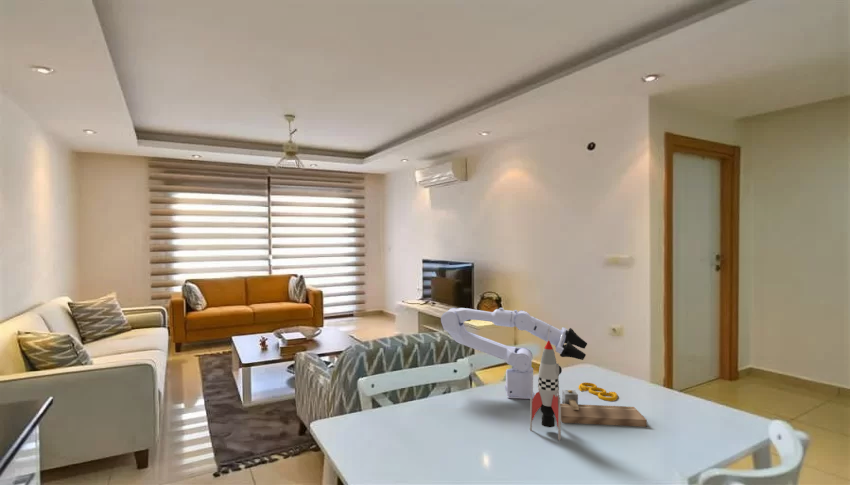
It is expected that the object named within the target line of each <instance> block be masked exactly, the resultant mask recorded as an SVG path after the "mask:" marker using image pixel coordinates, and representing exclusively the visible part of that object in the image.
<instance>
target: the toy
mask: <svg viewBox="0 0 850 485" xmlns="http://www.w3.org/2000/svg"><path fill="white" fill-rule="evenodd" d="M548 327H550V326H548ZM548 335H549V334H548ZM542 350H543V351H542V355H541V359H540V363H539V364H540V365H539V368H538V379H537V381H538V382H537V388H538V392H536V393H534V395H535V396H534V398H533V399H532V390H531V398H530V399H529V402H530V404H529V405H530V406H529V410H530V411H529V415H530V417H529V430H530V431H533V430H532V429H533V420H534V418H535V416H536V413H537V412H538V411H539V409H540V411H541V414H542V416H541V425H542V427H545V428H553V427H555V422H556V427H557V430H558V431H557V433H558V434H557V437H558V438H557V439H558V441H561V440H562V439H561V438H562V437H561V433H562V432H561V431H562V429H561V428H562V425H561V424H562V421H561V406H560V404H561V397H560V383H559V382H560V381H559V376H560V375H561V374H562V371H563V369H562V367H561V365H560V364H559V363H557V359H556V355H555V350H554V347H553V345H552V344H551V343H550V341H549V337H548V342H546V344H545V347H544V348H543V349H542ZM554 416H555V417H554ZM555 420H556V421H555Z"/></svg>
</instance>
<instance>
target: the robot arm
mask: <svg viewBox="0 0 850 485" xmlns="http://www.w3.org/2000/svg"><path fill="white" fill-rule="evenodd" d="M469 320H473V321H484V322H492V324H493V325H494V326H497V327H499V326H500V327H507V328H514V327H516V328H517V329H518V330H519V331H526V332H527V333H530V334H531V335H533V336H535V337H536V338H539V339H540V340H543V341H544V342H546V343H547V342H548V337H549V341H550V343H551V345H552V346H555V352H556V353H558V354H559V357H561V358H573V359H577V360H581V361H583V360H584V359H585V358H586V357H587V356H586V355H587V354H586V353H585V352H583V351H582V350H580V349H584V350H585V349H586V347H587V346H588V342H587V341H585V340H584V339H582V338H581V337H580V335H578V334H577V333H576V331H574V329H573V328H571V327H569V329H568V328H566V327H565V326H562V327H561V329H559V328H558V327H556V326H553V325H552V324H549V323H548V322H545V321H544V320H542V319H539V318H536V317H535V316H532V315H530V313H529V312H527V311H526V310H522V309H521V310H518V309H514V310H509V309H504V307H499V308H496V309H494V310H493V311H486V310H479V309H474V308H473V309H472V308H468V307H466V308H465V307H458V308H457V307H451V308H449V309H448V310H447V311H445V312H443V313H442V315H441V316H440V322H441V325H442V328H443V330H444V331H445V332H446V333H448V335H449V336H450V337H451V338H452V339H453V341H455V342H456V343H458V344H460V345H462V346H465V347H468V348H471V349H474V350H476V351H479V352H481V353H484V354H487V355H489V356H492V357H495V358H497V359H500V360H503V361H504V362H505V363H506V364H507V365H509V366H511V368H507V369H506V370H505V387H504V388H505V393H506V397H507V398H508V399H523V400H524V399H525V400H530V398H531V390H532V400H533V398H534V396H535V393H534V368H533V367H532V361H533V353H532V351H531V350H530V349H529V348H527V347H516V346H511V345H506V344H503V343H501V342H498V341H495V340H493V339H491V338H487V337H484V336H481V335H479V334H475V333H473V332H470V331H468V330H467V328H466V326H465V323H464V322H467V321H469ZM548 326H550V327H548ZM548 334H549V335H548ZM577 347H579V349H578V348H577Z"/></svg>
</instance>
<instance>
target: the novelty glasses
mask: <svg viewBox="0 0 850 485" xmlns="http://www.w3.org/2000/svg"><path fill="white" fill-rule="evenodd" d="M578 390H579V391H580V392H582V391H583V392H584V391H585V392H587V391H588V393H589V394H591V395H594V396H597V398H598V399H599V400H602V401H606V402H614V401H617V399H618V394H617V392H616V391H609V392H607V390H606V389H605V388H601V387H598V385H596V384H595V383H592V382H581V383H580V384H579V385H578Z"/></svg>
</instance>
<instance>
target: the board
mask: <svg viewBox="0 0 850 485" xmlns="http://www.w3.org/2000/svg"><path fill="white" fill-rule="evenodd" d="M577 405H578V406H579V410H573V408H572V407H571V405H570V404H562V403H560V406H561V424H562V423H563V424H583V425H600V426H601V425H603V426H604V425H605V426H627V427H645V428H646V427H647V425H648V424H647V423H648V422H647V421H648V420H647V419H646V417H644V416H643V414H642V413H641V412H640V411H639V410H638V409H637V408H636V407H635V406H624V405H622V406H621V405H598V404H579V403H578V404H577Z"/></svg>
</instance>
